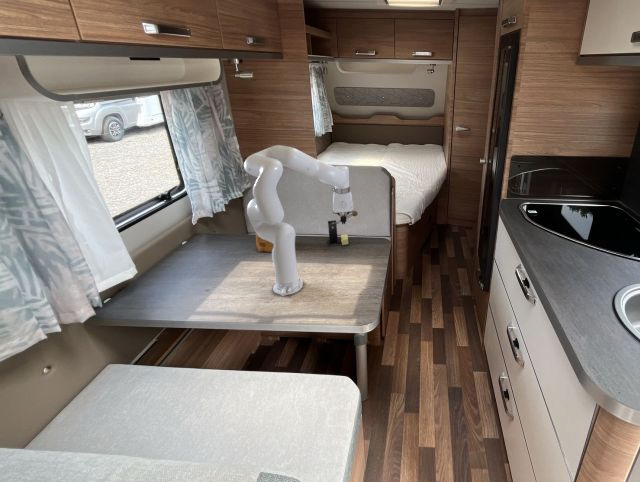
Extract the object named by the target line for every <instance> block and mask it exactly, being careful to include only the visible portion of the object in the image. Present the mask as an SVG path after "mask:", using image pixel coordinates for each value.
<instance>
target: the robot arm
mask: <svg viewBox="0 0 640 482" xmlns="http://www.w3.org/2000/svg"><path fill="white" fill-rule="evenodd" d="M284 167H285V168H289V169H290V170H293V171H296V172H298V173H300V174H301V175H304V176H306V177H309V178H313V179H317V180H318V181H320V182H321V183H322V184H326V185H330V186H334V187H331V192H333V193H332V214H333V215H337V216H339V217H340V219H339V220H341V222H340V223H341V224H342V225H346V222H348V221H347V220H348V219H346V217H347V216H348V215H350V214H352V212H354V211H355V210H354V201H353V194H352V192H351V191H350V190H351V189H350V168H349V166H347V165H336V166H334V165H332V164H329V163H327V162H324V161H323V160H320V159H317V158H315V157H313V156H311V155H309V154H307V153H305V152H303V151H302V150H300V149H297V148H295V147H293V146H287V145H281V144H276V145H272V146H269V147H267V148H265V149H263V150H260V151H257V152H255V153H251V155H249V156H248V157H247V158H246V159H245V161H244V163H243V168H244V170H245V172H246V173H247V174H248V175H250V176H253V177H256V178H257V179H256V180H255V182H254V185H253V187H252V196H253V198H252V199H251V200H250V201H249V202H248V204H247V208H246V214H247V217H248V219H249V222H250V223H251V226H252V227H253V230H254V233H255V235H256V234H257V235H258V236H259V237H260V238H262V239H264V240H267V241H269V242H271V243H273V244H274V248H273V250H272V252H271V259H272V264H273V272H274V278H275V283H274V284H273V287H272V291H273V293H274V294H276V295H278V296H282V297H285V296H289V295H292V294H295V293H298V292H299V291H300V290H301V289H302V288H303V286H304V281H303V279H301V278H300V277H299V270H298V264H297V263H298V262H297V253H296V235H297V234H296V230H295V228H294V227H293V226H292V225H291V224H289V223H287V222H284V221H283V220H284V219H285V209H284V208H283V204H282V202H281V200H280V198H279V195H278V191H277V185H278V183H279V181H280V179H281V177H282V175H283V173H284Z"/></svg>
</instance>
